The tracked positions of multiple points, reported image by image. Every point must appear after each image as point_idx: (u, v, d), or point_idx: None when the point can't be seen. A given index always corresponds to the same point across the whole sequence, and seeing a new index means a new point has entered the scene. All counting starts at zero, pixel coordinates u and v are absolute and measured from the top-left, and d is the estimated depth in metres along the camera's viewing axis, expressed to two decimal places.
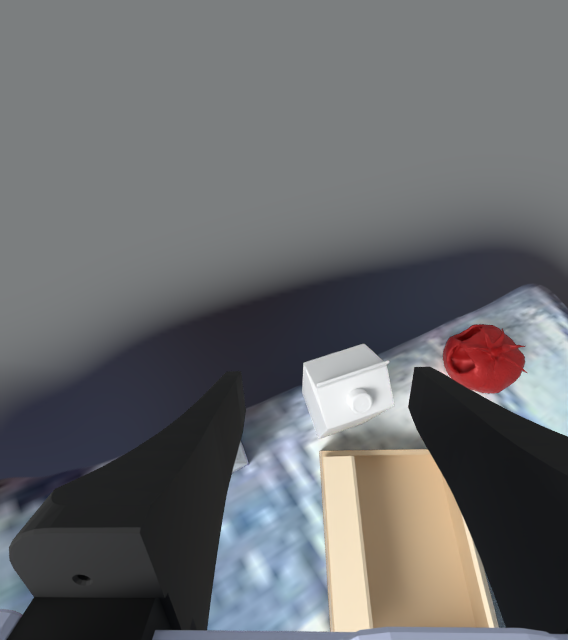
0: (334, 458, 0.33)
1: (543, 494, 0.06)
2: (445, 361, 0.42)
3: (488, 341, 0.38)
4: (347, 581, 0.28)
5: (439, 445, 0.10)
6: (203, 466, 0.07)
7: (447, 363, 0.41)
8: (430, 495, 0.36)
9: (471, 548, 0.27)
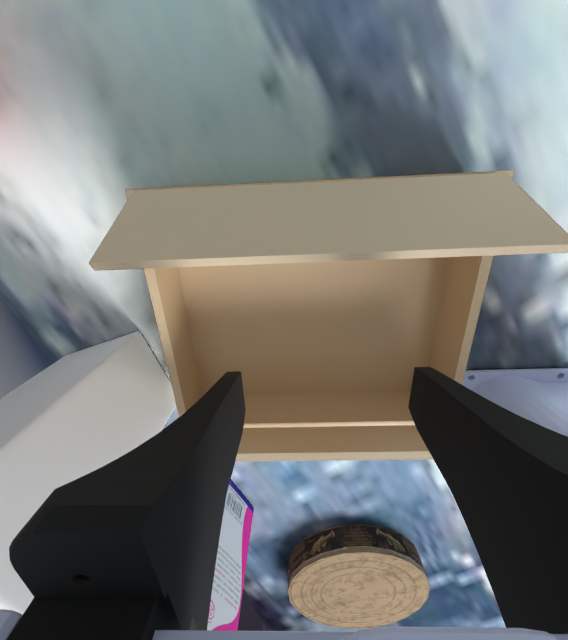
0: None
1: (543, 494, 0.06)
2: None
3: None
4: None
5: (439, 445, 0.10)
6: (203, 466, 0.07)
7: None
8: None
9: (296, 259, 0.11)
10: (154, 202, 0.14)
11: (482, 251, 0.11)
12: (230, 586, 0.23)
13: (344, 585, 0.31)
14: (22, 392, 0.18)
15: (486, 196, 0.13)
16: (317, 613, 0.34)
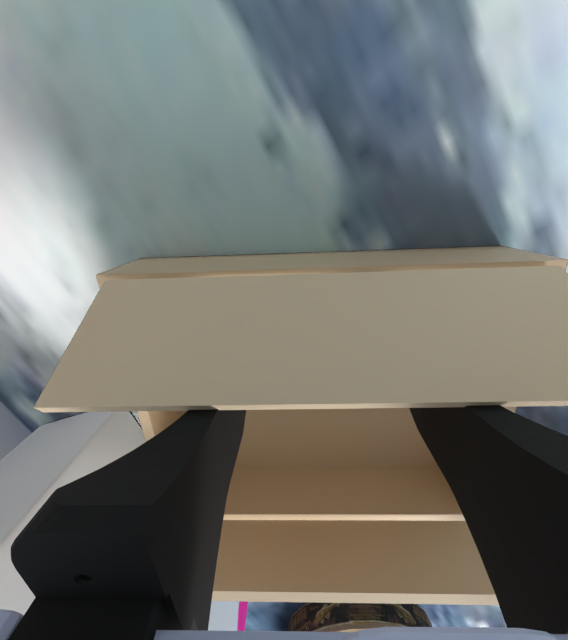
0: None
1: (544, 494, 0.06)
2: None
3: None
4: None
5: (440, 445, 0.10)
6: (204, 466, 0.07)
7: None
8: None
9: (303, 407, 0.08)
10: (128, 301, 0.11)
11: (549, 403, 0.08)
12: None
13: None
14: None
15: (542, 305, 0.10)
16: None
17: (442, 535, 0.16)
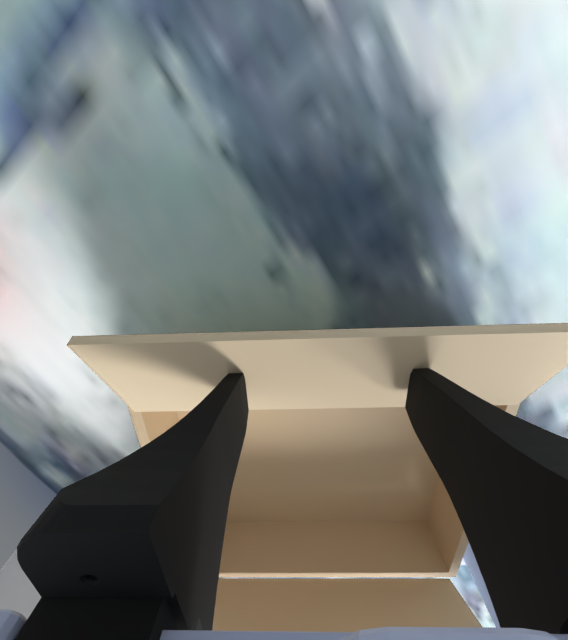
0: None
1: (536, 494, 0.06)
2: None
3: None
4: None
5: (435, 445, 0.10)
6: (208, 466, 0.07)
7: None
8: None
9: (298, 335, 0.10)
10: None
11: (505, 328, 0.10)
12: None
13: None
14: (20, 569, 0.17)
15: None
16: None
17: (423, 596, 0.18)
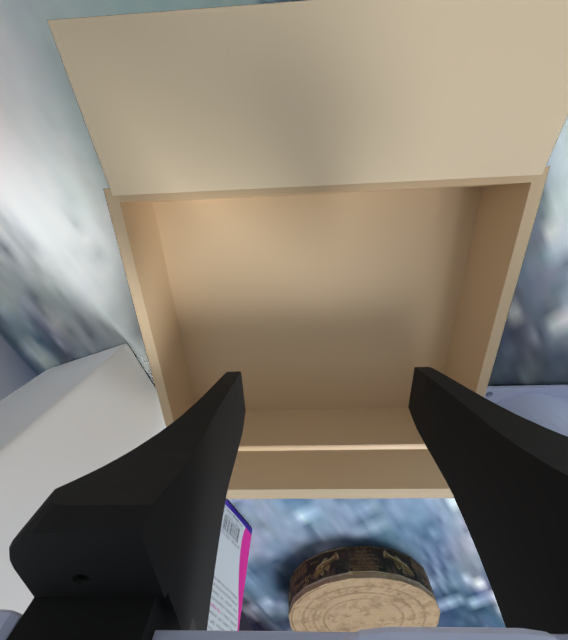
0: None
1: (543, 494, 0.06)
2: None
3: None
4: None
5: (439, 445, 0.10)
6: (203, 466, 0.07)
7: None
8: (237, 234, 0.17)
9: (290, 3, 0.09)
10: None
11: None
12: (225, 621, 0.21)
13: (348, 610, 0.29)
14: None
15: None
16: None
17: None
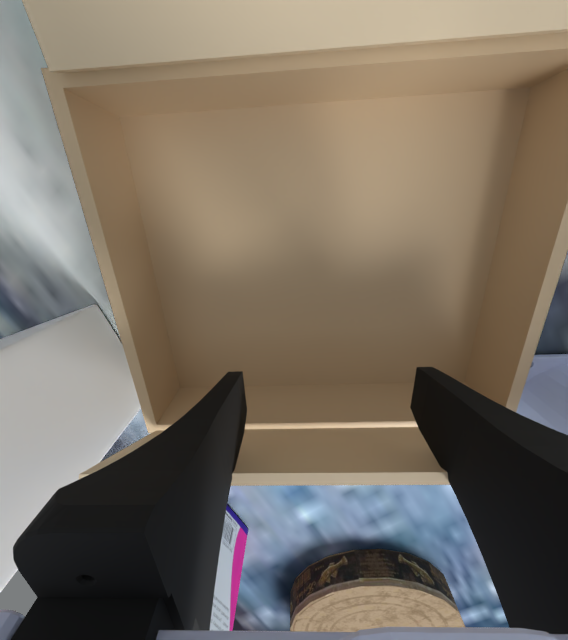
0: None
1: (547, 494, 0.06)
2: None
3: None
4: None
5: (442, 445, 0.10)
6: (205, 466, 0.07)
7: None
8: (223, 158, 0.14)
9: None
10: None
11: None
12: None
13: (359, 624, 0.26)
14: None
15: None
16: None
17: None
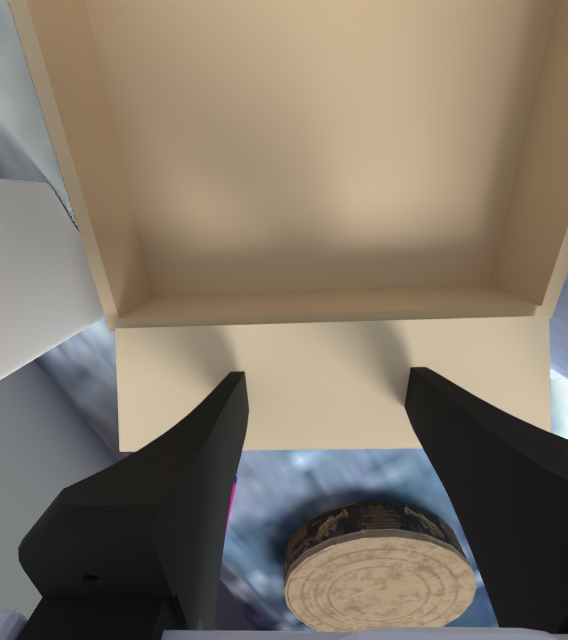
0: None
1: (535, 494, 0.06)
2: None
3: None
4: None
5: (434, 445, 0.10)
6: (209, 466, 0.07)
7: None
8: None
9: None
10: None
11: None
12: None
13: (360, 583, 0.23)
14: None
15: None
16: (322, 620, 0.25)
17: (489, 352, 0.12)
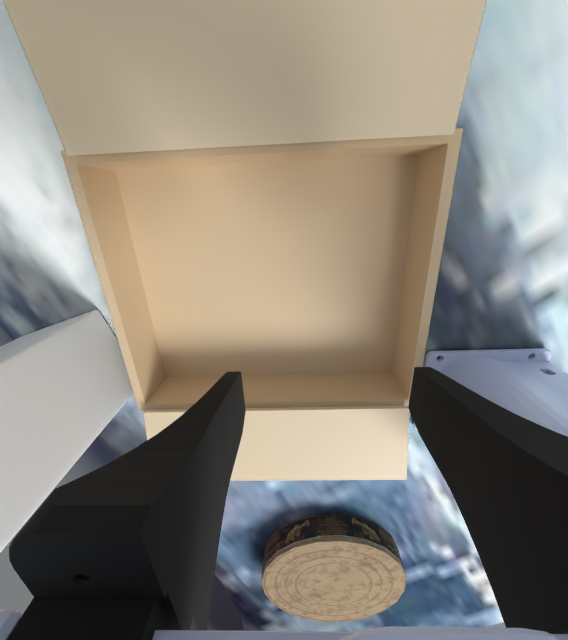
0: None
1: (543, 494, 0.06)
2: None
3: None
4: None
5: (439, 445, 0.10)
6: (203, 466, 0.07)
7: None
8: (195, 201, 0.18)
9: None
10: None
11: None
12: None
13: (319, 575, 0.30)
14: None
15: None
16: (292, 605, 0.33)
17: (372, 428, 0.20)
